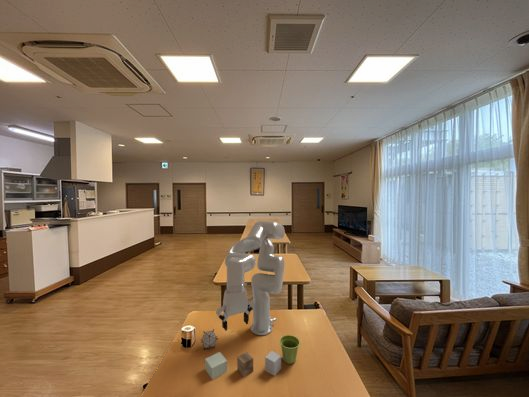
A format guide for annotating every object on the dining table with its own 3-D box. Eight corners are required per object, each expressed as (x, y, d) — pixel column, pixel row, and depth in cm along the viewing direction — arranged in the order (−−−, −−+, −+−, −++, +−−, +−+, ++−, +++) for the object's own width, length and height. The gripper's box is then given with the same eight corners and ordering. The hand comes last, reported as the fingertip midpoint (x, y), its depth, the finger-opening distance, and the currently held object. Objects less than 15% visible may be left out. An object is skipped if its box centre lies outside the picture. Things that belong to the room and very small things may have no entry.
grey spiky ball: (211, 356, 115) (212, 348, 109) (196, 348, 116) (196, 340, 110) (220, 338, 122) (221, 330, 116) (206, 331, 123) (207, 322, 117)
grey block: (271, 363, 105) (271, 350, 105) (281, 368, 102) (281, 355, 102) (265, 370, 101) (265, 357, 101) (274, 376, 98) (274, 362, 98)
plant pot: (301, 354, 111) (301, 337, 110) (297, 369, 102) (297, 350, 102) (282, 350, 114) (282, 333, 114) (277, 364, 105) (277, 345, 105)
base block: (219, 362, 106) (219, 351, 106) (227, 371, 101) (227, 360, 100) (205, 369, 102) (205, 358, 102) (212, 380, 96) (212, 368, 96)
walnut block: (246, 364, 105) (246, 351, 104) (253, 371, 101) (253, 358, 100) (237, 370, 102) (237, 356, 101) (243, 377, 98) (243, 363, 97)
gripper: (249, 280, 108) (249, 316, 108) (213, 287, 99) (213, 327, 100) (257, 286, 101) (257, 324, 102) (219, 294, 93) (219, 336, 93)
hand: (235, 325), depth 101 cm, fingers open, 9 cm apart
